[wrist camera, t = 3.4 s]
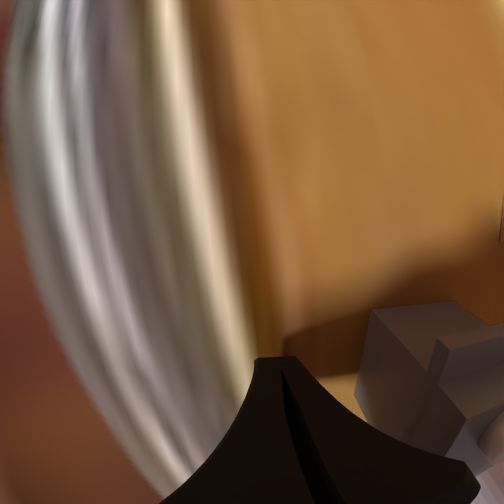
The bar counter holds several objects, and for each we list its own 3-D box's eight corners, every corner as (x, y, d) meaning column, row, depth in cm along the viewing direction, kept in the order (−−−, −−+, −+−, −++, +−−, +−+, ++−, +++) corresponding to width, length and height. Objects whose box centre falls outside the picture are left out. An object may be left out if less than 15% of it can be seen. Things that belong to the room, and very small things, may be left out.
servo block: (423, 394, 12) (493, 492, 5) (349, 410, 11) (403, 537, 5) (457, 276, 10) (581, 355, 3) (374, 282, 10) (506, 405, 3)
